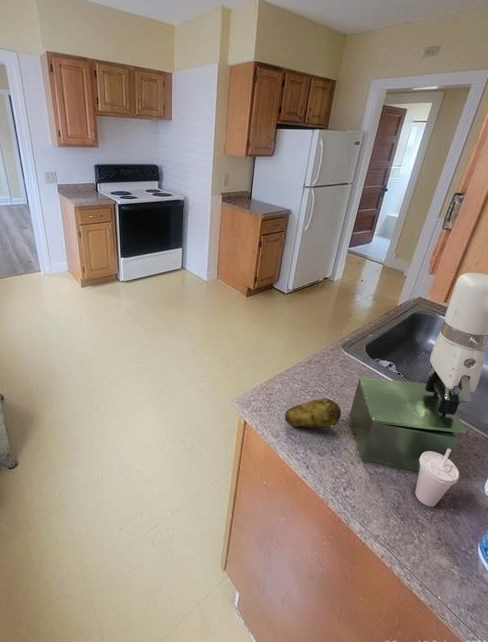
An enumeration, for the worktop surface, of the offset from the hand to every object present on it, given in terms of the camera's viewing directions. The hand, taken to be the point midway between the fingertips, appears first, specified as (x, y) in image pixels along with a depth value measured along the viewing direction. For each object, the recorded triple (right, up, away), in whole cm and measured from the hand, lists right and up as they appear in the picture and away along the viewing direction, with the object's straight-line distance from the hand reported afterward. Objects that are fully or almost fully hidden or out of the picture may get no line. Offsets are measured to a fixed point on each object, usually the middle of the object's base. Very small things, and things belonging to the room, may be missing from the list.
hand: (439, 401), depth 72 cm
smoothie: (-6, -18, -5) cm, 20 cm away
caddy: (-7, -13, +7) cm, 16 cm away
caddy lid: (-6, -1, +2) cm, 7 cm away
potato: (-25, -11, +11) cm, 30 cm away
